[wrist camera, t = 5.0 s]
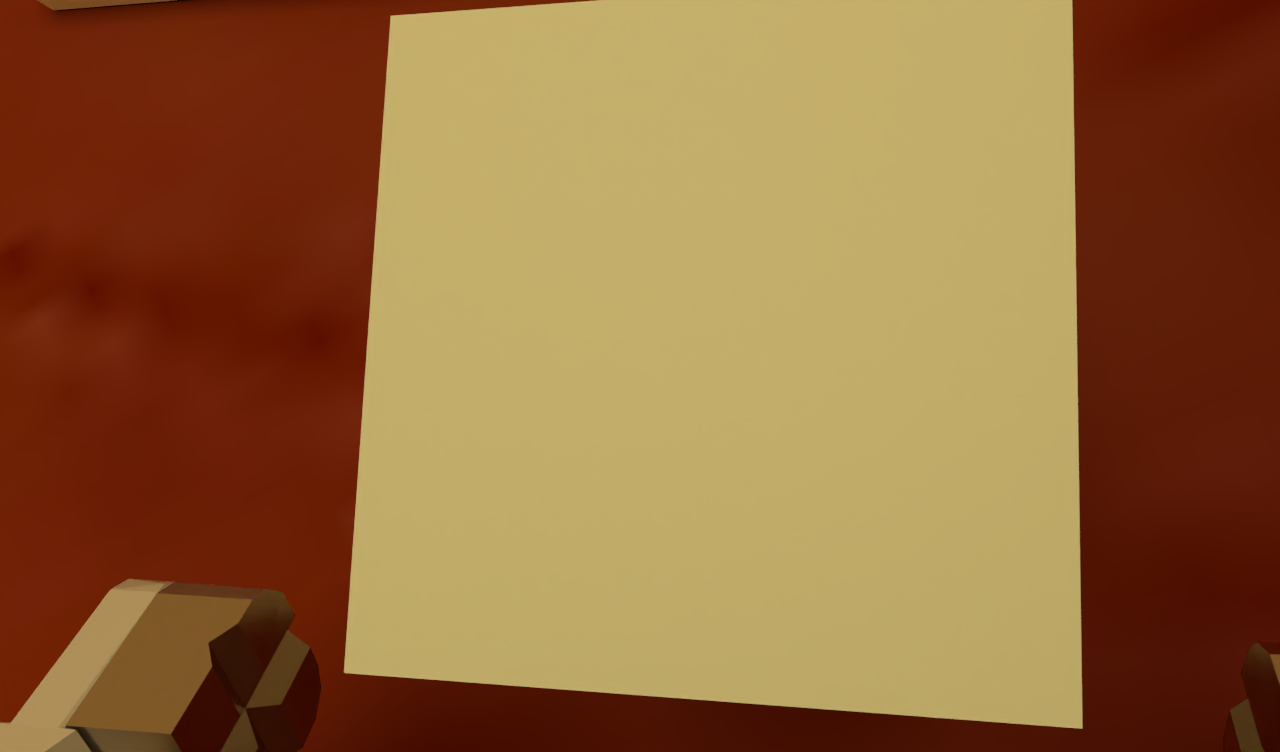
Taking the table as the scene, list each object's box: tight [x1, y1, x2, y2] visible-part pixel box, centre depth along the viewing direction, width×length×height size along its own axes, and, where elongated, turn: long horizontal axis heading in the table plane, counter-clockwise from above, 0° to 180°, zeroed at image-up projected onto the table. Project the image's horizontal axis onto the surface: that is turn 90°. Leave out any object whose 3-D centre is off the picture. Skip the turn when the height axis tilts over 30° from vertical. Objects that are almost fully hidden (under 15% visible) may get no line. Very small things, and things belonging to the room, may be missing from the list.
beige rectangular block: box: [344, 0, 1083, 729], centre depth 13 cm, size 5×5×10 cm
